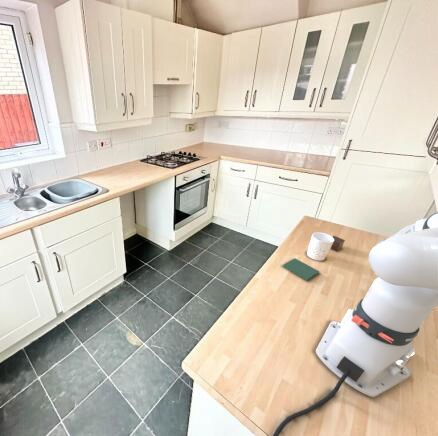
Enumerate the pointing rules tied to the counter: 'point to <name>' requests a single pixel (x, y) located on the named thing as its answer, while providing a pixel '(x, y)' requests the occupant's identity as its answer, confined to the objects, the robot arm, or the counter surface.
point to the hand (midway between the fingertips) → (379, 243)
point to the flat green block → (301, 269)
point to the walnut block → (337, 243)
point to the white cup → (319, 246)
